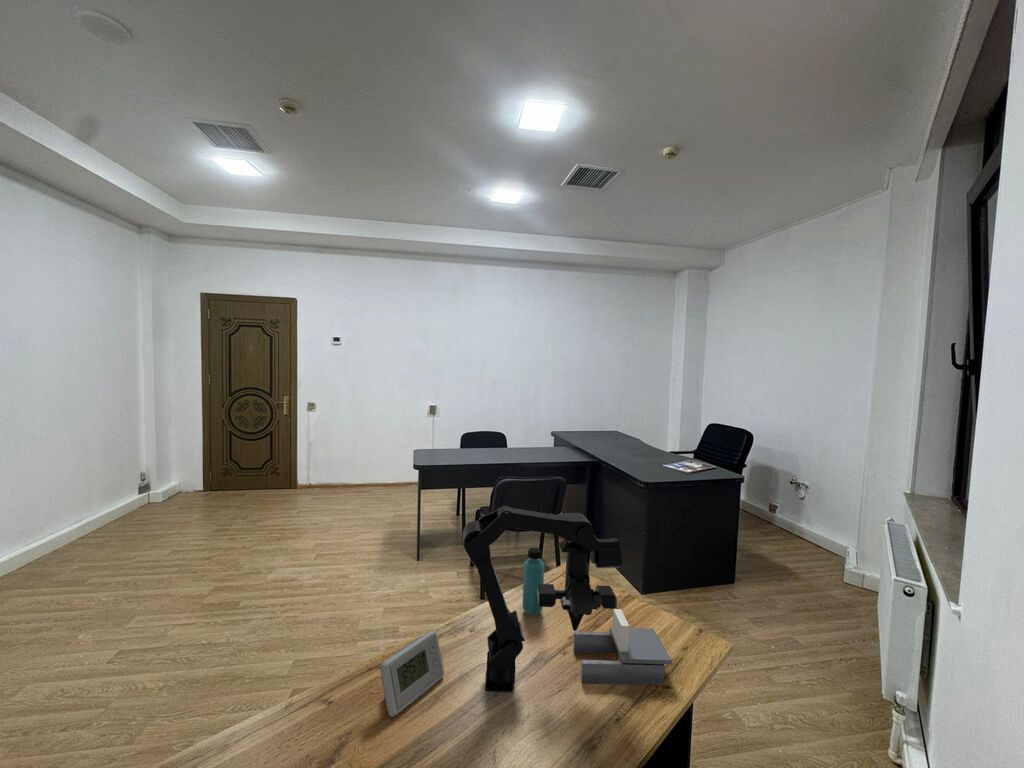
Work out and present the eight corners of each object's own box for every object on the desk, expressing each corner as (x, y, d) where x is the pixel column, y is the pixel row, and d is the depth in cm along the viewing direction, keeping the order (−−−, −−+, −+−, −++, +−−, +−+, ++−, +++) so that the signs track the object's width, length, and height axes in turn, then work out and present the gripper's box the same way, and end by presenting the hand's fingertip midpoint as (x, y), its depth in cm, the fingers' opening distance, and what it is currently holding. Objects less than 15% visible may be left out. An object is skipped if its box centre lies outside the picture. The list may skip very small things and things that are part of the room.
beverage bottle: (543, 619, 123) (546, 554, 122) (521, 618, 123) (524, 553, 122) (542, 607, 130) (545, 545, 129) (521, 606, 130) (524, 544, 129)
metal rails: (581, 683, 99) (582, 663, 98) (573, 649, 111) (574, 631, 110) (663, 685, 99) (664, 665, 99) (646, 651, 111) (647, 633, 111)
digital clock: (388, 724, 85) (389, 674, 85) (369, 697, 92) (371, 651, 92) (452, 685, 96) (454, 641, 96) (432, 664, 103) (433, 623, 103)
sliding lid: (622, 662, 99) (624, 632, 98) (609, 630, 111) (611, 603, 110) (671, 664, 99) (673, 633, 99) (653, 632, 111) (654, 604, 111)
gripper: (542, 583, 91) (539, 651, 92) (625, 586, 92) (621, 653, 92) (538, 560, 102) (535, 620, 103) (612, 562, 103) (608, 622, 103)
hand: (574, 629), depth 100 cm, fingers closed
